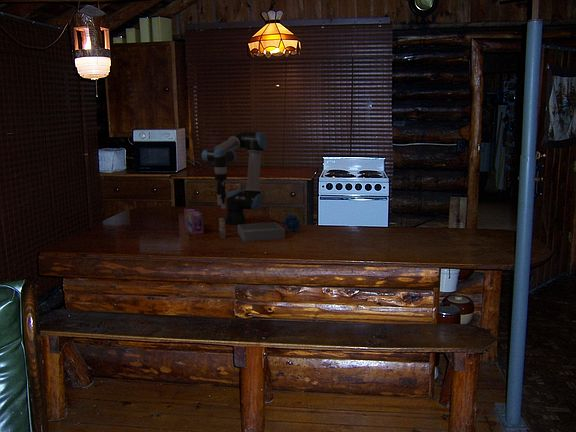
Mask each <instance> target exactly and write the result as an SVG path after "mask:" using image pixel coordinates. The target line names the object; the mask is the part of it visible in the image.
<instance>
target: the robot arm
mask: <svg viewBox="0 0 576 432" xmlns="http://www.w3.org/2000/svg"><path fill="white" fill-rule="evenodd" d="M267 148H268V137H267V135H266V134H265V133H264V132H261V131H241V132H238V133H236V134H233V135H232V136H230V137H229V138H227V140H225V141H223V142H221V143H220V144H218V145H216V146H215V147H213V148H212V149H204V150H202V152H201V160H202V161H203V162H208V163H209V162H210V163H212V162H213V164H214V165H213V166H214V168H213V170H214V180H216V183H217V184H216V194H217V197H216V198H217V199H216V200H217V206H220V208H221V210H223V209H226V215H225V225H234V226H235V225H237V226H238V225H242V224H247V218H246V216H245V213H244V210H253V211H254V210H255V211H258V210H260V209H261V208H262V207H263V205H264V200H265V197H264V194H263V193H262V189H260V181H261V180H260V177H261V162H262V154H263V153H264V150H265V149H267ZM238 149H246V152H247V153H248V162H247V163H248V164H247V176H246V177H247V181H246V182H247V183H246V188H245V189H244V190H243V189H236V190H235V189H234V190H230V191H227V192H226V186H225V185H226V183H225V182H224V181H226V180H227V178H228V177H227V176H228V174H227V172H228V171H227V163H228V164H229V163H233V162H234V161H236V160H237V153H236V152H235V150H236V151H237V150H238Z"/></svg>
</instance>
